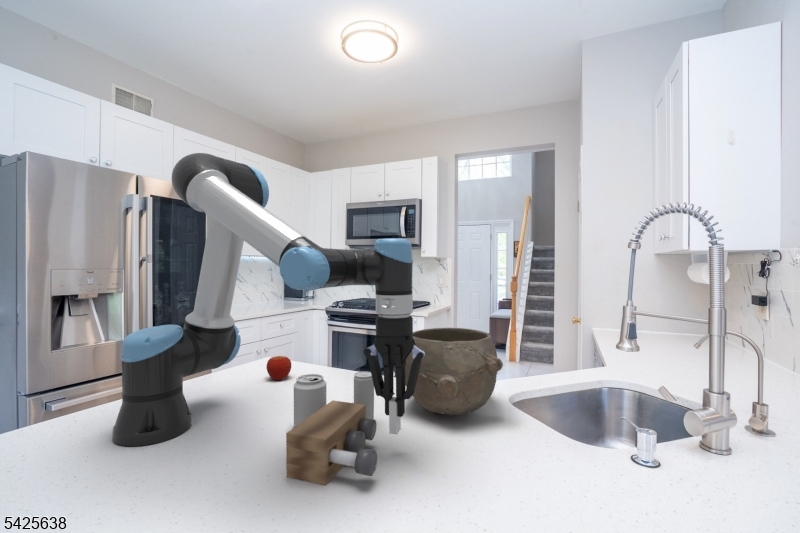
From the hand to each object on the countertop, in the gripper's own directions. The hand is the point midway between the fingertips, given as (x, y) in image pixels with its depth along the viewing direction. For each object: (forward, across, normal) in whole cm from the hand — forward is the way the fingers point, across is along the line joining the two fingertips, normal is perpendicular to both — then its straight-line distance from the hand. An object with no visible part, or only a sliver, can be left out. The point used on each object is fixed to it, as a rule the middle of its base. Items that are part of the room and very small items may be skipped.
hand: (395, 431), depth 77 cm
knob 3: (+2, -10, 0) cm, 11 cm away
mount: (+4, -12, -6) cm, 14 cm away
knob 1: (+2, -10, -6) cm, 12 cm away
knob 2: (+2, -5, -12) cm, 13 cm away
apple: (+4, -53, +34) cm, 63 cm away
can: (+5, -23, +4) cm, 24 cm away
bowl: (+5, +5, +27) cm, 28 cm away
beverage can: (+5, -12, +10) cm, 16 cm away
